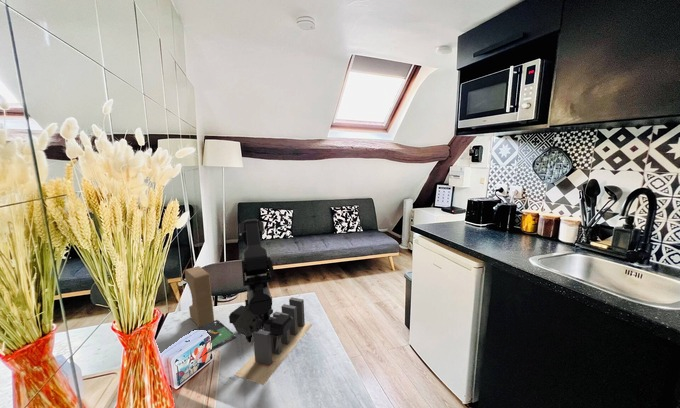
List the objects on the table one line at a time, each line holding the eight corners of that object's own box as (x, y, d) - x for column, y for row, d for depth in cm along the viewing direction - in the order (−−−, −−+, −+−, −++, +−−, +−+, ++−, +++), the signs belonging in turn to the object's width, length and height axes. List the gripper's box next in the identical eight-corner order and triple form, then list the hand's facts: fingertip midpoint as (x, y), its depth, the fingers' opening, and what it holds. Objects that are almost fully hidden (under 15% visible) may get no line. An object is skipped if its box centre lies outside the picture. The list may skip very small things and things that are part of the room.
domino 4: (295, 335, 96) (294, 308, 94) (283, 332, 97) (281, 306, 96) (297, 333, 97) (296, 306, 95) (285, 330, 99) (283, 304, 97)
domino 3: (302, 327, 100) (301, 301, 98) (290, 324, 102) (289, 299, 100) (304, 324, 102) (303, 299, 100) (292, 322, 103) (291, 297, 102)
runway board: (234, 378, 79) (234, 374, 79) (289, 322, 106) (288, 319, 105) (263, 388, 75) (263, 384, 75) (312, 327, 102) (312, 324, 102)
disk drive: (188, 339, 98) (206, 358, 88) (187, 332, 98) (205, 350, 88) (217, 325, 106) (237, 341, 96) (217, 318, 105) (236, 334, 95)
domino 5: (287, 344, 91) (285, 316, 89) (274, 341, 93) (272, 314, 91) (290, 341, 92) (288, 314, 91) (277, 338, 94) (275, 311, 93)
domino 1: (269, 366, 82) (267, 335, 80) (255, 362, 84) (252, 331, 82) (272, 362, 83) (270, 332, 82) (258, 358, 85) (256, 328, 83)
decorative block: (190, 317, 111) (184, 269, 107) (205, 311, 114) (199, 265, 111) (198, 329, 103) (192, 278, 99) (214, 322, 106) (209, 273, 103)
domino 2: (279, 355, 86) (277, 325, 85) (265, 351, 88) (263, 322, 87) (281, 351, 88) (280, 322, 86) (268, 348, 90) (266, 319, 88)
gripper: (211, 305, 76) (217, 356, 78) (269, 317, 69) (273, 373, 72) (240, 287, 86) (244, 332, 89) (292, 296, 79) (295, 346, 82)
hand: (262, 345), depth 82 cm, fingers open, 9 cm apart
